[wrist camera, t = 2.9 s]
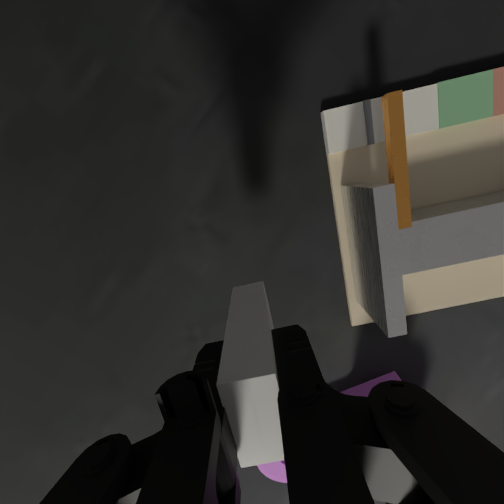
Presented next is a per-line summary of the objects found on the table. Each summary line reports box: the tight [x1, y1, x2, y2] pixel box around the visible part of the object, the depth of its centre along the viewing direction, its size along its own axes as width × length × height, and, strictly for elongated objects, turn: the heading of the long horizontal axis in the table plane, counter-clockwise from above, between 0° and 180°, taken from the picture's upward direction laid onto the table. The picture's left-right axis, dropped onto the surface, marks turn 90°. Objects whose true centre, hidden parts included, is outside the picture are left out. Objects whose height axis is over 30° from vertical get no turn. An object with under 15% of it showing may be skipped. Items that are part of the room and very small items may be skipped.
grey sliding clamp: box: [341, 90, 504, 338], centre depth 15 cm, size 12×14×5 cm
